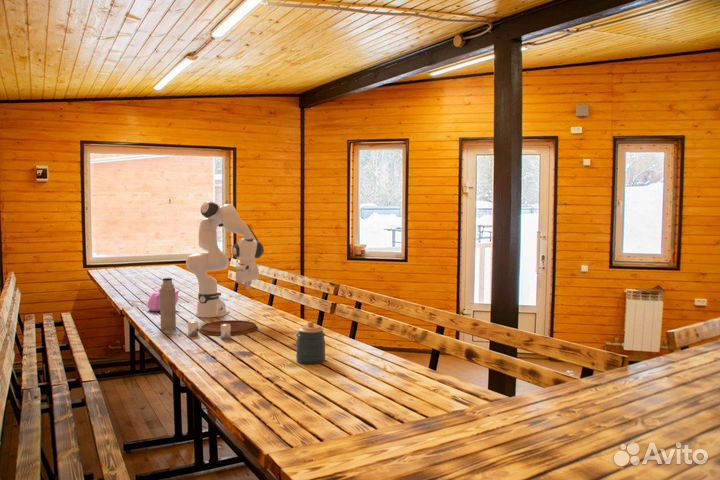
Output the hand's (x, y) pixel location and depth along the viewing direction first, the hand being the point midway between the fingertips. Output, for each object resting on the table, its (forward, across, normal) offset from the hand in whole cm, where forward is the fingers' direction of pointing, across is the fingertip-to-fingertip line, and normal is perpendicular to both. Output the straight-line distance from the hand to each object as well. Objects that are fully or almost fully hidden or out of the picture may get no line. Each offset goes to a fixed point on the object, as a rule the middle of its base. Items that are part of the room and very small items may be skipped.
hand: (247, 288), depth 327 cm
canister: (+18, +62, +70) cm, 95 cm away
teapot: (+21, -14, -72) cm, 76 cm away
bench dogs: (+19, +39, +1) cm, 44 cm away
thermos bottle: (+20, +30, -33) cm, 49 cm away
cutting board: (+20, +21, 0) cm, 29 cm away
